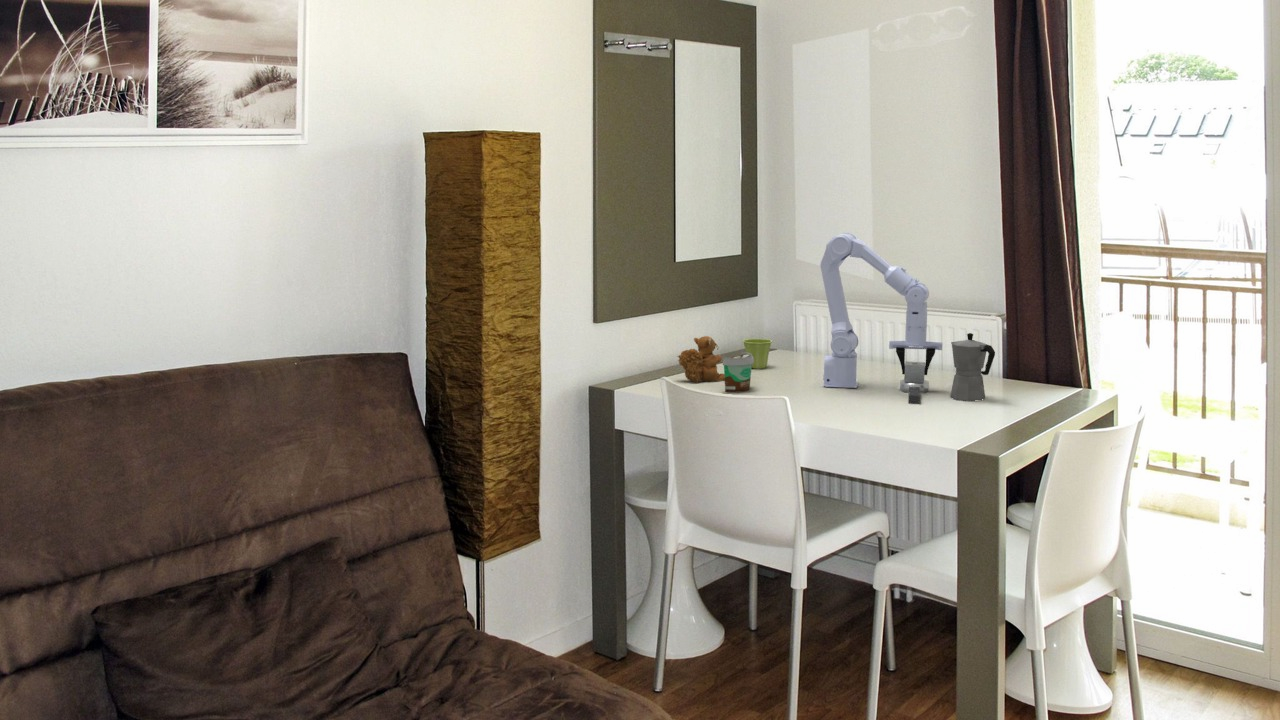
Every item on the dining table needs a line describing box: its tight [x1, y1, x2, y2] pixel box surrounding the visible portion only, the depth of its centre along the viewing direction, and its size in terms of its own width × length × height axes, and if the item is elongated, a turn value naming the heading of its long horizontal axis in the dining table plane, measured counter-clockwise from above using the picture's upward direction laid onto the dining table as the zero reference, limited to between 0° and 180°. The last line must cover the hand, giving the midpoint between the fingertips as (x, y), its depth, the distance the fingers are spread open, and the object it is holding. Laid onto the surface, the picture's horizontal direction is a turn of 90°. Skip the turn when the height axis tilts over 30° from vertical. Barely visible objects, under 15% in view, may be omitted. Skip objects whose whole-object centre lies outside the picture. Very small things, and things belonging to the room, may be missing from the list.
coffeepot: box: [949, 332, 996, 402], centre depth 294 cm, size 15×9×18 cm, turn 29°
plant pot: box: [742, 338, 773, 370], centre depth 346 cm, size 9×9×9 cm
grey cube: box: [903, 360, 926, 383], centre depth 307 cm, size 5×5×5 cm
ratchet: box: [899, 379, 930, 405], centre depth 301 cm, size 8×22×5 cm, turn 166°
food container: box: [722, 351, 754, 393], centre depth 310 cm, size 12×6×10 cm, turn 148°
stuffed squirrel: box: [676, 335, 725, 384], centre depth 325 cm, size 10×14×13 cm
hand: (914, 374), depth 307 cm, fingers closed on grey cube, 5 cm apart
